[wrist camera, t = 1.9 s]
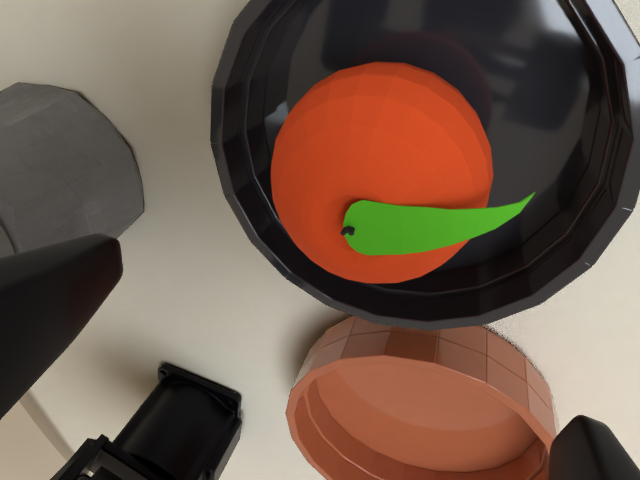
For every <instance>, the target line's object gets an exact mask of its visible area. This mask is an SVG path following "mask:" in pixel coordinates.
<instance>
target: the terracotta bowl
mask: <svg viewBox="0 0 640 480" xmlns="http://www.w3.org/2000/svg"><path fill="white" fill-rule="evenodd" d="M286 417H287V421H288V425H289V429H290V433H291V437H292V439H293V441H294V442H295V444H296V445H297V447H298V448H299V450H300V451H301V453H302V454H303V456H304V457H305V459H306V460H307V461H308V463H309V464H310V465H312V466H313V467H314V468H315V469H316V470H317V471H318V472H319V473H320V474H321V475H322V476H323V477H324V478H325V479H327V480H548V472H549V456H550V448H551V444H552V442H553V440H554V438H555V437H556V436H557V435H558V434H559V433H560V426H559V419H558V414H557V411H556V408H555V404H554V401H553V397H552V394H551V390H550V388H549V385H548V384H547V383H546V382H545V381H544V379H543V378H542V377H541V376H540V374H539V373H538V372H537V370H536V369H535V367H534V366H533V365H532V364H531V363H530V362H529V361H528V360H527V358H526V357H525V356H524V355H523V354H522V353H521V352H519V351H518V350H517V349H516V348H515V347H514V346H512V345H511V344H510V343H508V342H507V341H505V340H504V339H503V338H501V337H500V336H498V335H497V334H495V333H493V332H491V331H489V330H487V329H485V328H484V327H482V326H470V327H461V328H451V329H441V330H432V331H429V330H428V331H426V330H418V329H411V328H403V327H396V326H388V325H380V324H376V323H372V322H369V321H367V320H364V319H361V318H359V317H356V316H351V317H348V318H346V319H345V320H343V321H341V322H339V323H337V324H336V325H335V326H333V327H331V328H329V329H327V330H326V331H325V332H324V334H323V335H322V336H321V337H320V338H319V339H318V340H317V341H316V343H315V344H314V345H313V346H312V347H311V348H310V350H309V352H308V355H307V357H306V359H305V361H304V363H303V365H302V367H301V370H300V372H299V374H298V376H297V378H296V380H295V383H294V385H293V387H292V389H291V392H290V396H289V400H288V405H287V409H286Z"/></svg>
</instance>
